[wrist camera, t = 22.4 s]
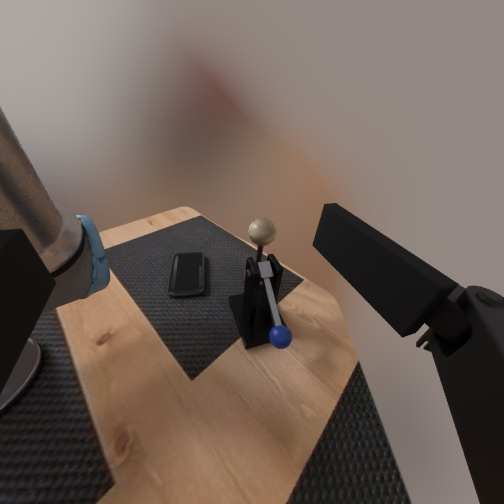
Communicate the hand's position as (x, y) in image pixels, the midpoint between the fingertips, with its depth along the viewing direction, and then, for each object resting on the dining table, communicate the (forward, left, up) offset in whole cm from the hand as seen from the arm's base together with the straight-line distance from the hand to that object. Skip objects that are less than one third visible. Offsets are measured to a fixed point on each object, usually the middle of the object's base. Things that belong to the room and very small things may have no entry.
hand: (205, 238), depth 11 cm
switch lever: (+12, +13, -24) cm, 30 cm away
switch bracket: (+12, +17, -32) cm, 38 cm away
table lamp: (+16, +28, -32) cm, 45 cm away
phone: (0, +34, -32) cm, 46 cm away
